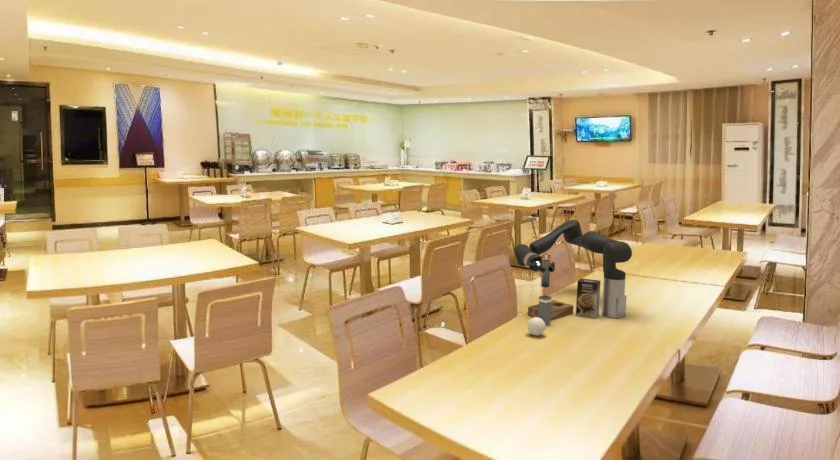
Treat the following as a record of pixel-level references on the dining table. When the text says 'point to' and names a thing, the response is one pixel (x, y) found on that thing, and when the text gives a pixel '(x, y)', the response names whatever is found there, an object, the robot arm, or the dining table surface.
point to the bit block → (553, 310)
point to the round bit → (545, 271)
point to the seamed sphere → (536, 326)
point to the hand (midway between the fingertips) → (548, 270)
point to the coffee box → (588, 298)
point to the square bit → (545, 309)
